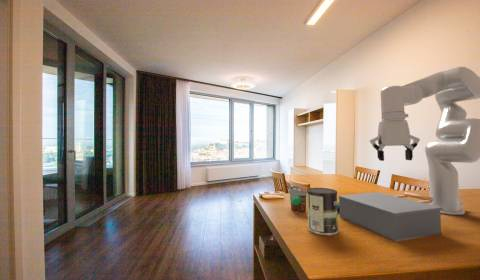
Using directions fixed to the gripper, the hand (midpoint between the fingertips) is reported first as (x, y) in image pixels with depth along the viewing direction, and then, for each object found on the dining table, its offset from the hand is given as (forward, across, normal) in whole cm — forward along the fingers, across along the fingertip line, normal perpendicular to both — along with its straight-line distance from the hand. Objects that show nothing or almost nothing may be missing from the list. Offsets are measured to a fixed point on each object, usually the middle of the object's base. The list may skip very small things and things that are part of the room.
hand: (394, 160), depth 85 cm
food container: (+24, +39, -8) cm, 46 cm away
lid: (+16, +3, +4) cm, 17 cm away
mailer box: (+24, +7, +6) cm, 25 cm away
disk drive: (+24, +22, -11) cm, 35 cm away
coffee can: (+24, +30, +15) cm, 41 cm away
